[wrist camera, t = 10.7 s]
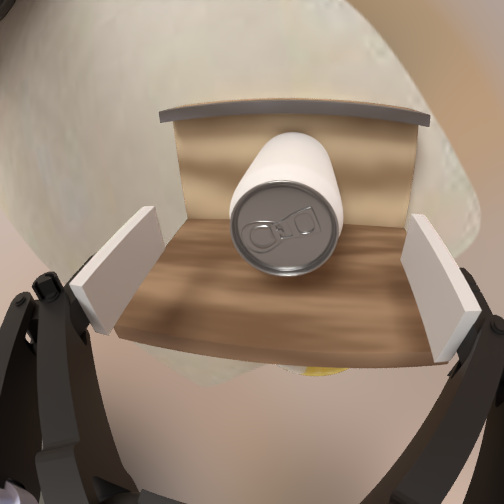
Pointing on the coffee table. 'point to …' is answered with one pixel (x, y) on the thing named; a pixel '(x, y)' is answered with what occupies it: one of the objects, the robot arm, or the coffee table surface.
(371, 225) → the brown piece
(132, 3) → the coffee table surface
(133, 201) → the coffee table surface
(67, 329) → the robot arm
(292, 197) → the can
